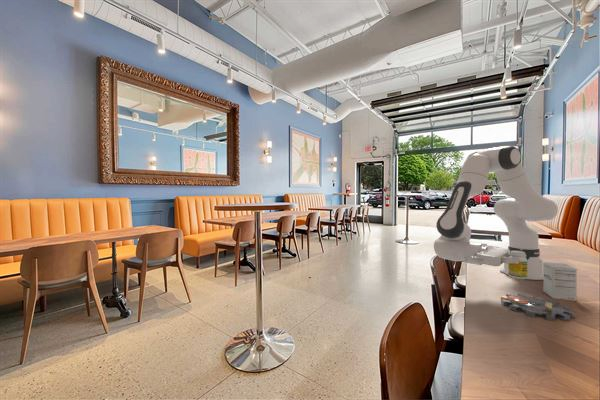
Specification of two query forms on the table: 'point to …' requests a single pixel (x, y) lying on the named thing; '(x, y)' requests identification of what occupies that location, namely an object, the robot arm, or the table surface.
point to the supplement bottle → (518, 266)
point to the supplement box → (560, 281)
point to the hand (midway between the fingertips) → (521, 259)
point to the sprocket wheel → (537, 307)
